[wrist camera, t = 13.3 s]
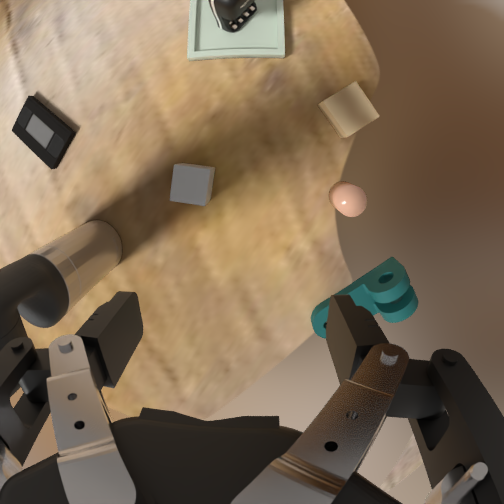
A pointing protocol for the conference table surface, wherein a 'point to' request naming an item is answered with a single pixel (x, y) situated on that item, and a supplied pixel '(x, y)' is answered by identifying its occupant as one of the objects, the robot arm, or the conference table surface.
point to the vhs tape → (43, 132)
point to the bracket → (375, 295)
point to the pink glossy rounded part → (348, 198)
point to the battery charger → (232, 13)
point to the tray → (236, 33)
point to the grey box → (192, 184)
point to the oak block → (348, 110)
